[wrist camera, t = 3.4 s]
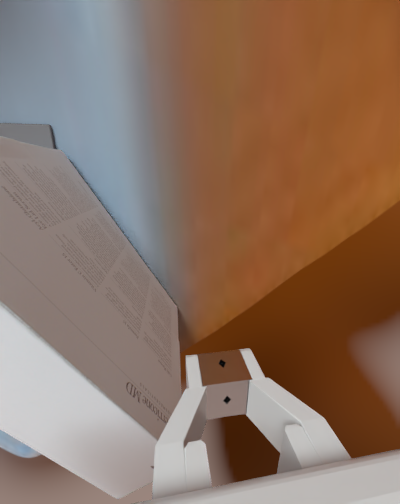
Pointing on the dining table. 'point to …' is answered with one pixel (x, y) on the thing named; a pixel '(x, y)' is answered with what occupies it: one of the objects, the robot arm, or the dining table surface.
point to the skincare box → (80, 327)
